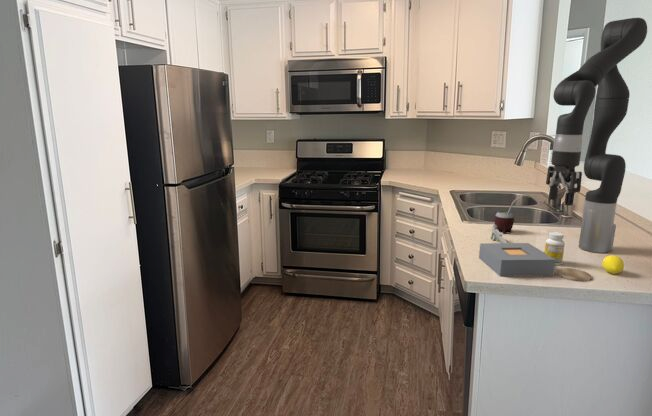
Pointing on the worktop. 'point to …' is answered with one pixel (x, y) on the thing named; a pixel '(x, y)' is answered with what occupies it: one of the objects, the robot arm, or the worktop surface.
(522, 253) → the breaker button
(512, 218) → the mate gourd
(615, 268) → the lemon
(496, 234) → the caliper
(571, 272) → the cork coaster
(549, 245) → the supplement bottle
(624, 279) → the worktop surface
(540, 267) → the box
